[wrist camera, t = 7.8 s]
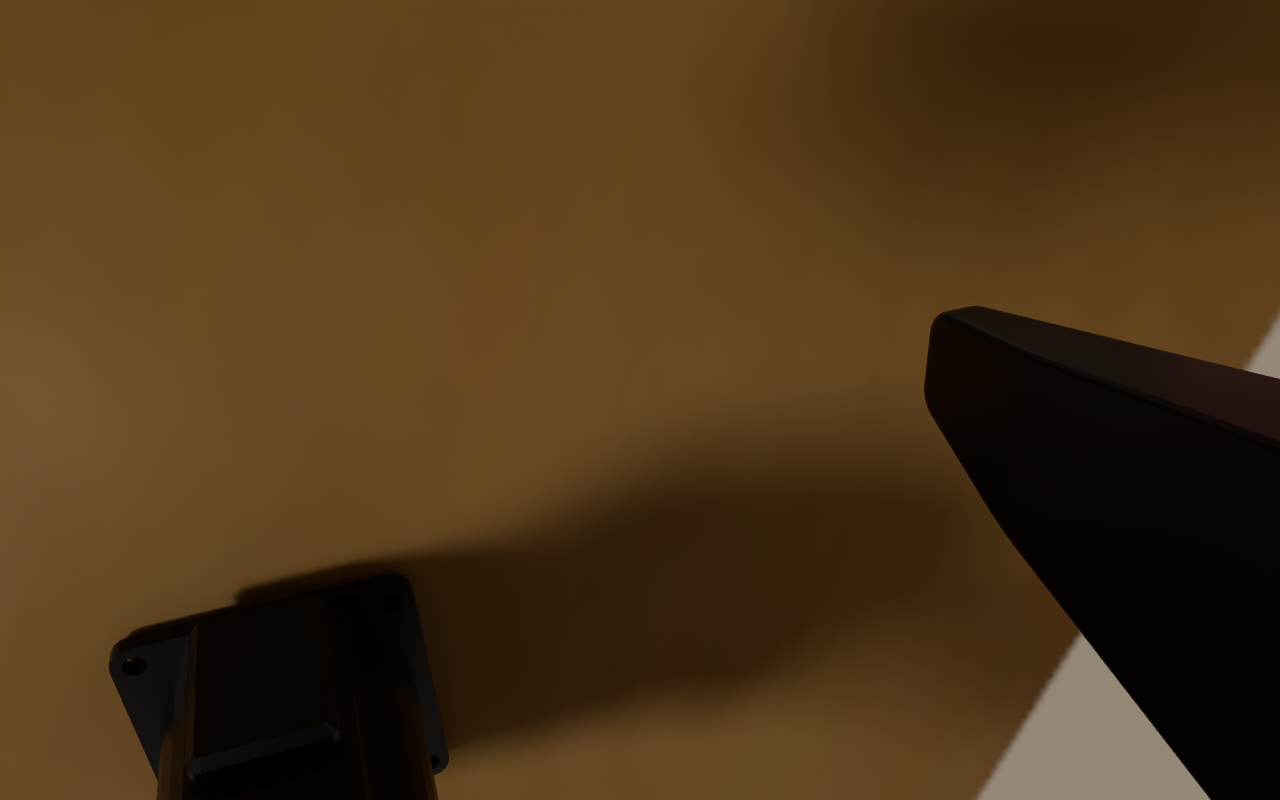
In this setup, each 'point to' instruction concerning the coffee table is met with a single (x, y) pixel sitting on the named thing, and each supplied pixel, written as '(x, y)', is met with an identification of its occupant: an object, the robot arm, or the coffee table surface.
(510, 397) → the coffee table surface
